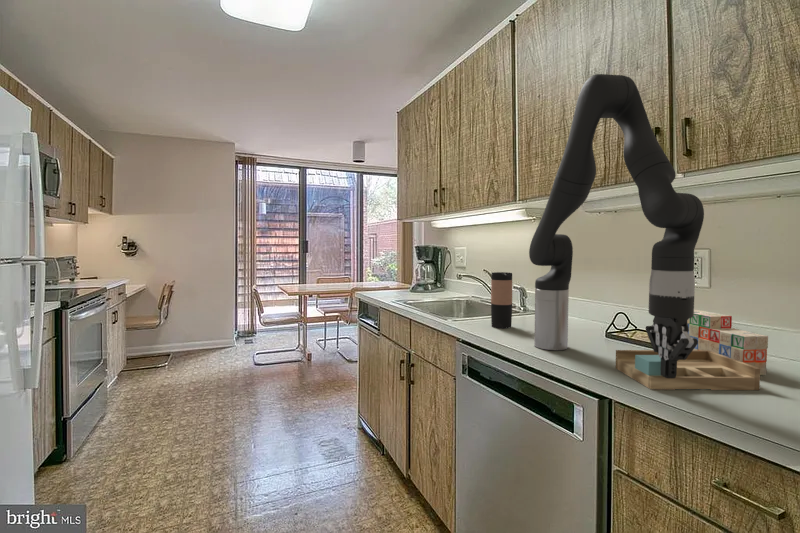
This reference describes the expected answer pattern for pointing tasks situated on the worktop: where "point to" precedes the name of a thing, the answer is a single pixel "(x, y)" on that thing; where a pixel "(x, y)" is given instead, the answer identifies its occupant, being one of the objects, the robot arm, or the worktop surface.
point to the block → (648, 364)
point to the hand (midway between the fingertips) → (668, 377)
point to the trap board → (694, 372)
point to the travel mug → (501, 300)
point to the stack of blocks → (728, 339)
